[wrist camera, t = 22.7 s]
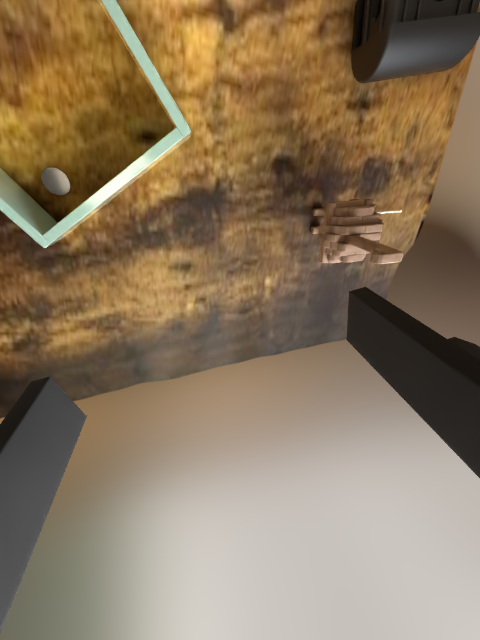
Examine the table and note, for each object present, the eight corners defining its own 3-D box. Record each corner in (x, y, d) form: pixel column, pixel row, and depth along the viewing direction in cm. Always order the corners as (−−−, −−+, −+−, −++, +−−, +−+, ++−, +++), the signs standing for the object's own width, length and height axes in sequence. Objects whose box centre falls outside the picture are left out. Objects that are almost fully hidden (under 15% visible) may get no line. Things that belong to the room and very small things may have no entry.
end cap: (344, 92, 28) (384, 72, 23) (351, -2, 24) (400, -54, 19) (421, 80, 29) (478, 58, 24) (439, -12, 25) (512, -65, 20)
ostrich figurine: (291, 245, 37) (365, 296, 22) (295, 196, 33) (385, 217, 18) (391, 234, 39) (519, 274, 24) (403, 187, 36) (564, 199, 20)
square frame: (63, 238, 31) (44, 248, 26) (-157, 32, 20) (-247, -5, 16) (190, 137, 28) (191, 131, 24) (14, -165, 17) (-41, -273, 13)
